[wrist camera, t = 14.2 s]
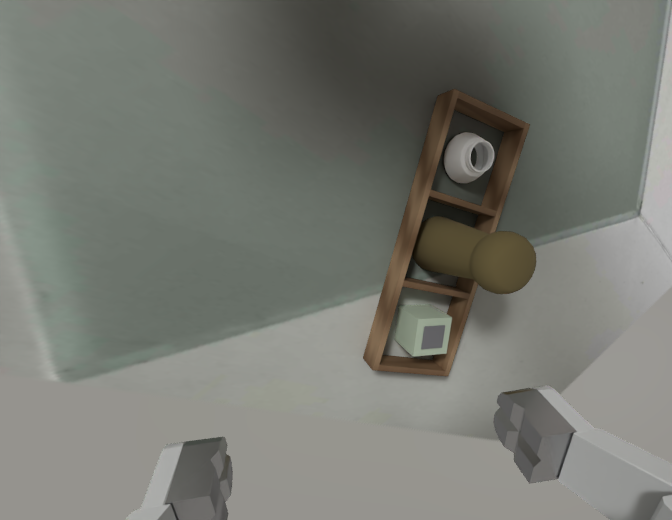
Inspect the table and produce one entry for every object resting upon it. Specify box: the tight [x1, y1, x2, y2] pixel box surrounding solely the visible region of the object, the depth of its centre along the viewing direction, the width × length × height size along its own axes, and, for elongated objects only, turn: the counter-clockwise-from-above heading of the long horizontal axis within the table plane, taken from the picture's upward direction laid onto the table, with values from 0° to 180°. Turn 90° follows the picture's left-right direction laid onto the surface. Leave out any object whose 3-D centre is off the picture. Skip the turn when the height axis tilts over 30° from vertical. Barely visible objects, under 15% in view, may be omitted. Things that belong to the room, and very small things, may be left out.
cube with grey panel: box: [395, 304, 452, 357], centre depth 35 cm, size 4×4×4 cm
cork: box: [412, 216, 536, 294], centre depth 31 cm, size 6×6×11 cm
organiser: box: [363, 89, 530, 376], centre depth 35 cm, size 28×10×2 cm, turn 165°
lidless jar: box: [444, 132, 494, 183], centre depth 33 cm, size 5×3×5 cm
